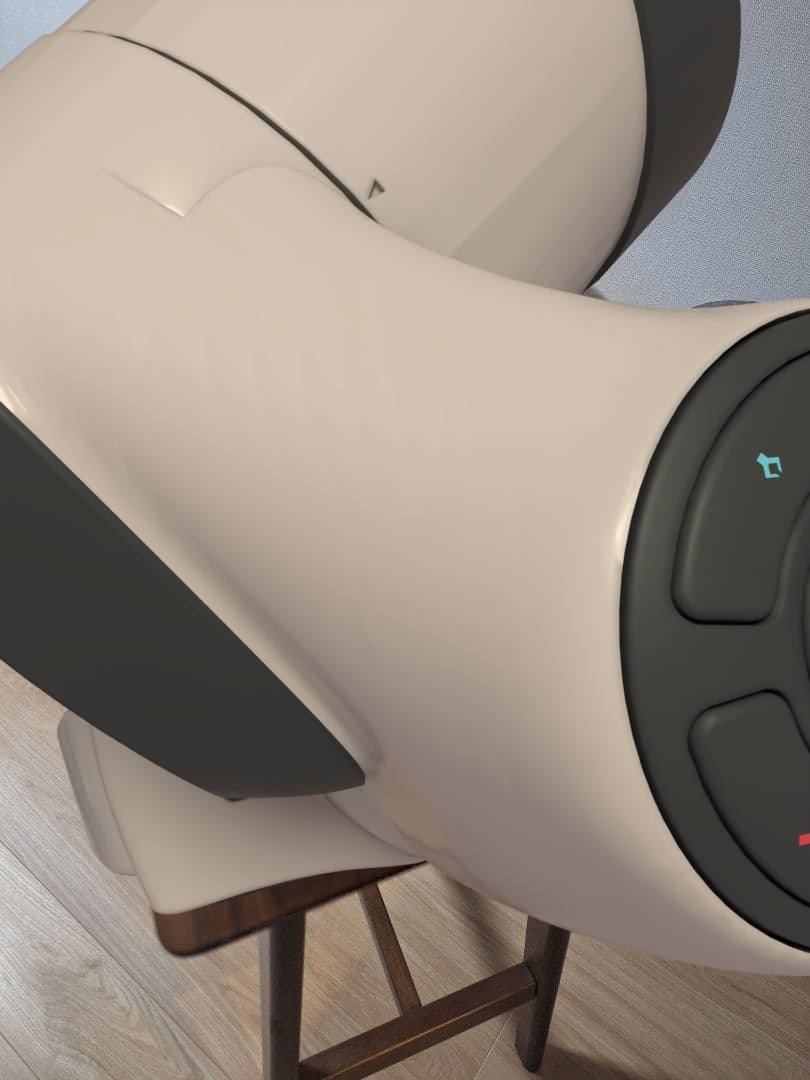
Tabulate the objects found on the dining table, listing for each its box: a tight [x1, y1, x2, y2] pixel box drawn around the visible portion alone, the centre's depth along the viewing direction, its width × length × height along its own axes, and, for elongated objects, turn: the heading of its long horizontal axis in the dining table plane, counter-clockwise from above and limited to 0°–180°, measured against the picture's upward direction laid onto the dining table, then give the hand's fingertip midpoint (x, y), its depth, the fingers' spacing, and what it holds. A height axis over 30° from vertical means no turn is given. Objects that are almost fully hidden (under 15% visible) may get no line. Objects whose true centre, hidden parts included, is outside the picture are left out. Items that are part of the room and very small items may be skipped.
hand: (332, 685), depth 37 cm, fingers open, 8 cm apart
